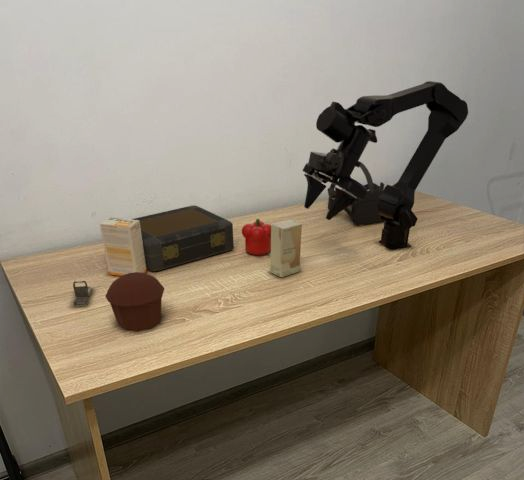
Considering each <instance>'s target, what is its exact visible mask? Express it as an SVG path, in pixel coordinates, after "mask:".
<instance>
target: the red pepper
mask: <svg viewBox="0 0 524 480" xmlns="http://www.w3.org/2000/svg"><path fill="white" fill-rule="evenodd" d="M241 236H243V238H244V247H245V248H244V249H245V251H246V252H247V253H248V254H249V255H252V256H255V257H256V256H264V255H267V254H268V253H269V252H271V223H265V222H264V221H262V220H260V218H256V219H255V221H254V222H253V223H246V224H244V225H243V226H242V228H241Z"/></svg>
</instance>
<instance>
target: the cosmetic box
mask: <svg viewBox="0 0 524 480" xmlns="http://www.w3.org/2000/svg"><path fill="white" fill-rule="evenodd" d="M270 225H271V250H270V266H269V267H270V269H269V272H270V273H271V274H273V275H275V276H276V277H279V278H284V277H288V276H291V275H293V274H296V273H299V272H300V268H301V251H302V250H301V249H302V248H301V247H302V227H303V224H302V223H300V222H298V221H296V220H293V219H287V220H282V221H278V222H276V223H270Z"/></svg>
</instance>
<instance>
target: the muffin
mask: <svg viewBox="0 0 524 480" xmlns="http://www.w3.org/2000/svg"><path fill="white" fill-rule="evenodd" d="M164 292H165V287H164V286H163V284H162V283H161V282H160V280H158V278H157V277H155V276H154V275H152V274H148V273H146V272H145V273H141V272H134V273H128V274H125V275H123V276H118V278H116V279H115V280H113V281H112V283H111V284H110V286H109V287H108V289H107V292H106V294H105V295H104V297H105V299H106V300H107V302H108V303H109V304H110V308H111V310H112V312H113V314H114V317H115V320H116V324H117V325H118V326H119V327H121V328H122V329H123V330H124V331H132V332H136V333H137V332H142V331H145V330H152V329H153V328H154V327H155V326H158V325H159V324H161V318H162V299H163V296H164Z"/></svg>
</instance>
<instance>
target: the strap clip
mask: <svg viewBox="0 0 524 480" xmlns="http://www.w3.org/2000/svg"><path fill="white" fill-rule="evenodd" d="M81 283H83V284H84V285H80V286H76V284H81ZM72 288H73V292H74V296H75V299H74V300H73V307H86V306H87V305H89V297H90V296H91V294H92V287H91V286H88V283H87V280H76V281H75V280H74V281H73V283H72Z"/></svg>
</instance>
